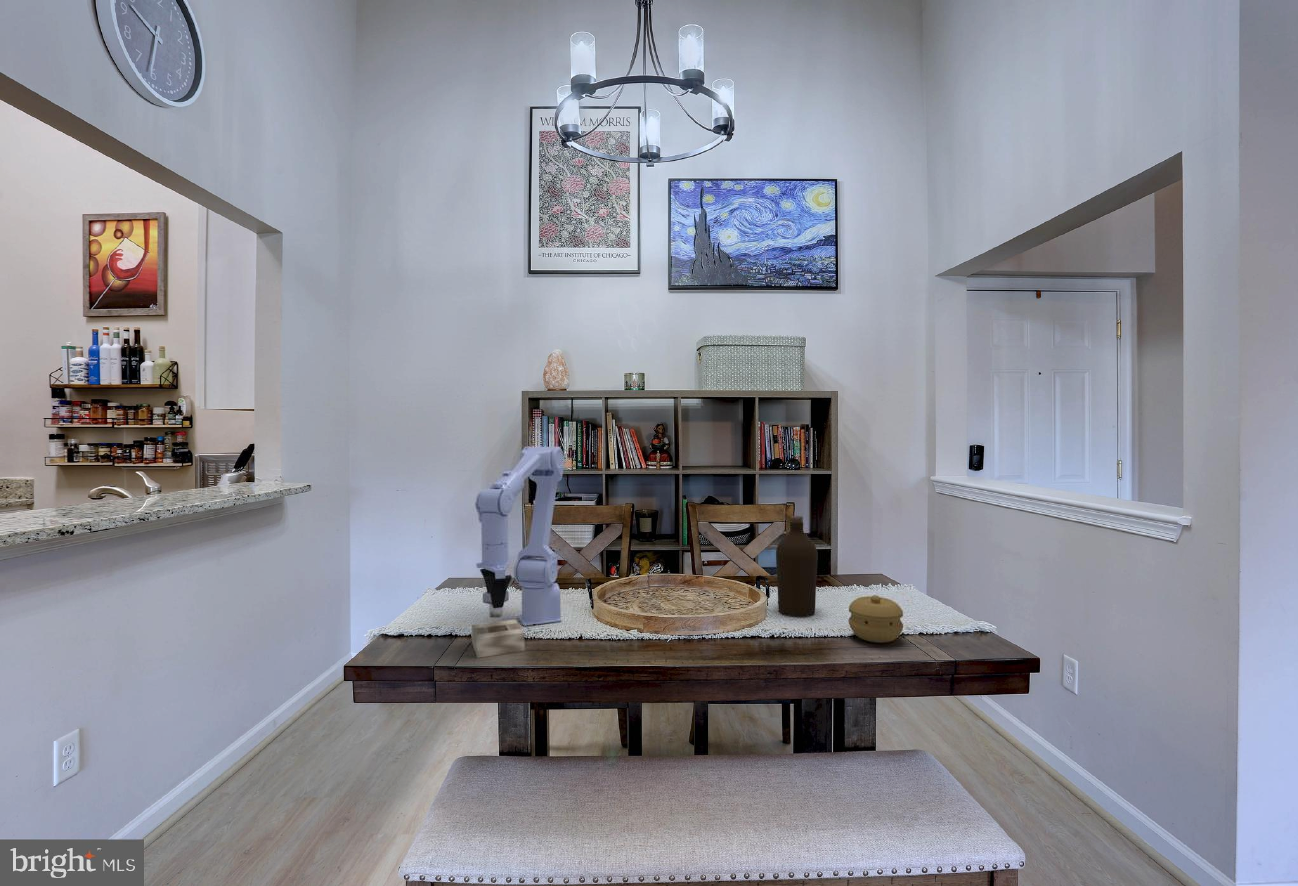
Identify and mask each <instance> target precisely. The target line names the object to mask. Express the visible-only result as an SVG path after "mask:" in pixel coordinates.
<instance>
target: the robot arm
mask: <svg viewBox="0 0 1298 886" xmlns="http://www.w3.org/2000/svg"><path fill="white" fill-rule="evenodd" d="M519 459H520V460H519V461H518V462H517V464H516V465H515V466H514V468H513V469H512V470H504V471H503V473H502V474H501V476H499V478H498V479H496V481H495V482H494V483H492V485H491V486H490V487H489V488H483V489H482V490H480V491H479V493H478V494H477V496H476V499H475V503H474V505H475V509H476V510H475V511H476V512H477V515H478V521H479V523H481V525H480V526H481V528H480V529H481V530H480V531H481V533H480V534H481V562H477V563H476V564H475V565H476V569H479V571H480V573H481V575H482V577H483V580H484V584H485V587H486V592H488V591H490V595H491V601H492V605H493V608H501V607H502V608H504V605H505V602H504V601H505V596H506V591H508V588H509V585H510V583H511V581H512V575H511V574H508V575H506V571H507V569H508V568H509V566H510V561H509V526H508V525H509V514H511V512H512V510H513V505H514V504H515V501H516V498H517V497H518V495H519V494H520V493H521V492H522V490H523V489H524V487H525V480H526V479H527V478H528V477H529V480H531V481H533V482H535V484H536V491H535V496H534V497H535V500H534V503H533V510H532V511H533V512H532V519H531V525H530V526H531V527H530V530H529V531H530V532H529V538H528V539H529V540H528V545H526V546H525V547H524V548H522V549H520V551H518V555H517V559H516V561H515V564H514V567H513V577H514V580H515V581H516V582H517V583H518V586H519V587H521V614H518V615H517V618H518V620H519V621H520V623H521V624H522V625H523V626H524V627H527V625H528V626H534V625H533V624H536V625H541V624H543V625H544V624H549V623H557V622H561V621H562V617H561V615H562V614H561V612H562V611H561V610H562V609H561V590H560V586H559V584H558V583H557V582H555V581H556V580H557V577H558V573H559V571H558V555H557V553H555V552H554V551H553V550H552V549H551V548H550V547H549V544H550V538H551V531H552V522H553V516H554V515H553V514H554V510H555V501H556V493H557V486H558V482H560V481H562V480H563V474H564V467H565V456H564V452H563V450H562V448H561V447H560V446H559V445H558V446H529V445H528V446H524V448H523V449H522V450H521V451H520V457H519Z"/></svg>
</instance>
